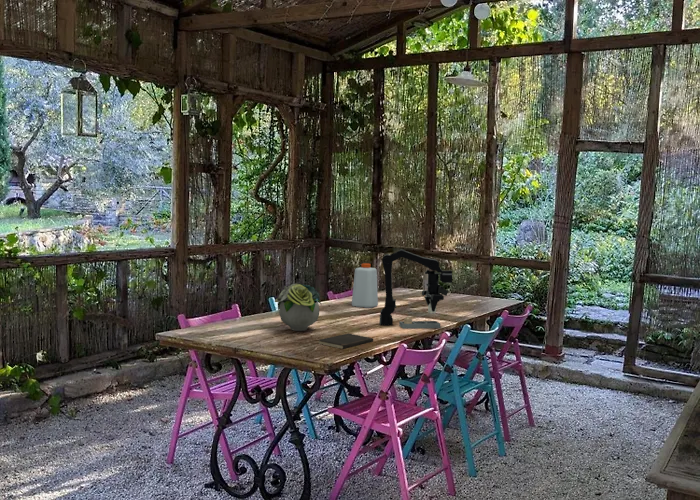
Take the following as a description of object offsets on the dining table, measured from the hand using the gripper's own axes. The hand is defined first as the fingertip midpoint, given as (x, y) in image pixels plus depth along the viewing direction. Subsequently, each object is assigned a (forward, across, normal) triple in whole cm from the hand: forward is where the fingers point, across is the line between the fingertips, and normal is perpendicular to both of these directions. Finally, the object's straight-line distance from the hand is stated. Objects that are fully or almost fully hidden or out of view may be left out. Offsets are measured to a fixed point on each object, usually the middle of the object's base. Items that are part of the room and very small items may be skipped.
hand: (431, 310), depth 352 cm
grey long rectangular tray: (+10, 0, +7) cm, 12 cm away
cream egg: (+1, 0, 0) cm, 1 cm away
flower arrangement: (+10, +3, +73) cm, 73 cm away
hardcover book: (+11, -30, +55) cm, 63 cm away
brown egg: (+9, 0, +14) cm, 16 cm away
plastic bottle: (+10, +77, +18) cm, 80 cm away
